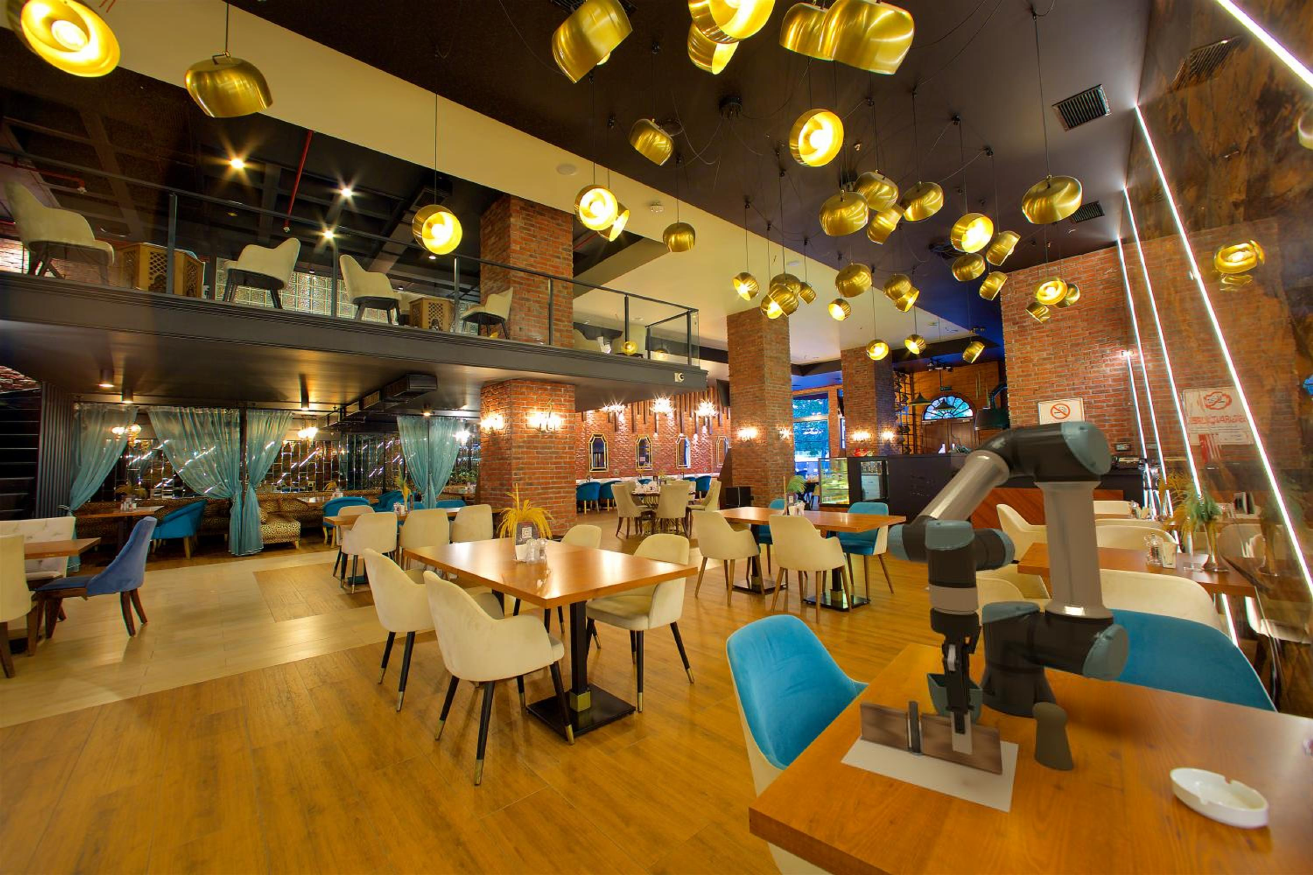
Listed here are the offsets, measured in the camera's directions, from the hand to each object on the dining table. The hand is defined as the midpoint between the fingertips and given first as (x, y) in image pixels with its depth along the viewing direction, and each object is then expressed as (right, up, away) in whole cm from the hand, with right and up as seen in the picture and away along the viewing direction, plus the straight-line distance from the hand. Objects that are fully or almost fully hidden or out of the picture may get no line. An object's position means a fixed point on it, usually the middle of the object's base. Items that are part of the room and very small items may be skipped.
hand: (962, 750), depth 90 cm
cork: (+20, -7, +5) cm, 22 cm away
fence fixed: (-6, -7, +13) cm, 16 cm away
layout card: (0, -7, +9) cm, 12 cm away
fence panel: (+3, -5, +6) cm, 8 cm away
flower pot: (+12, -8, +24) cm, 28 cm away
